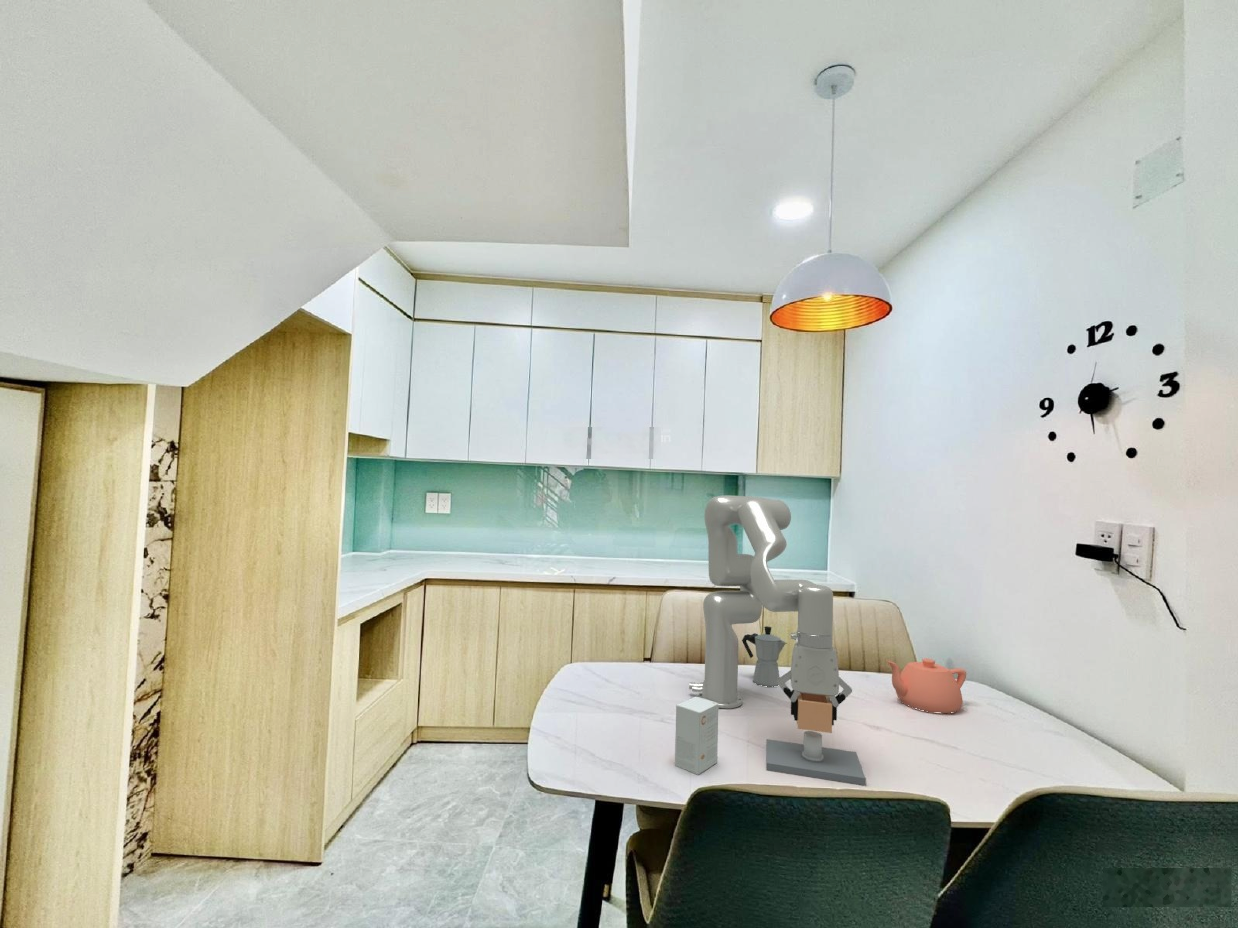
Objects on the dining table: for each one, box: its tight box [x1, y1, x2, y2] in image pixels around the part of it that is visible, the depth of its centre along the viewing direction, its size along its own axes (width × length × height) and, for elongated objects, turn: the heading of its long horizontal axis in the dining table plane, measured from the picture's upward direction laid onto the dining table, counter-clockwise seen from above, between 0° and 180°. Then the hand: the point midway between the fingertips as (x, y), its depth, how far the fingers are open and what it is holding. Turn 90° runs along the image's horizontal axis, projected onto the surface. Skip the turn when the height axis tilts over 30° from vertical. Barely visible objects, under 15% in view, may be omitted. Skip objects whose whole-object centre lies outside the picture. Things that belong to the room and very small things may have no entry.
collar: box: [796, 693, 833, 734], centre depth 126 cm, size 7×7×6 cm
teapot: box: [886, 658, 967, 714], centre depth 168 cm, size 25×17×13 cm
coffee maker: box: [741, 626, 788, 688], centre depth 183 cm, size 15×9×18 cm, turn 58°
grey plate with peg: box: [765, 730, 867, 787], centre depth 126 cm, size 20×13×6 cm, turn 75°
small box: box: [674, 696, 720, 775], centre depth 124 cm, size 8×6×13 cm
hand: (813, 720), depth 126 cm, fingers closed on collar, 7 cm apart
